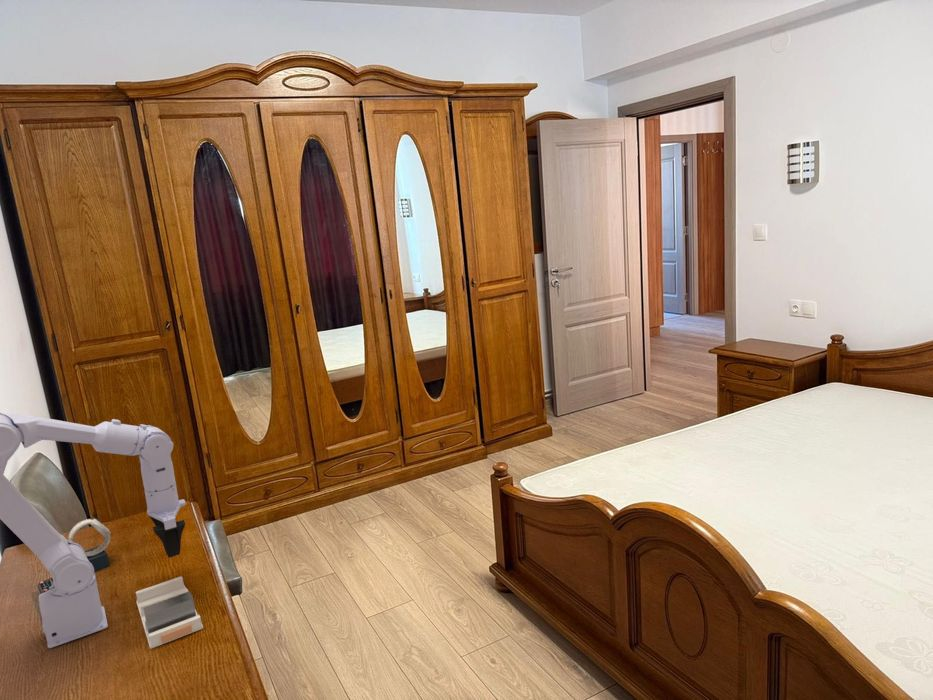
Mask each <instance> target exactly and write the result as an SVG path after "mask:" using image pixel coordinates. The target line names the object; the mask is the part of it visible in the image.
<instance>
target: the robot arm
mask: <svg viewBox="0 0 933 700" xmlns="http://www.w3.org/2000/svg"><path fill="white" fill-rule="evenodd" d="M40 441H54V442H62V443H63V442H65V443H75V444H76V443H77V444H87V445H91V446H92V448H93V449H94V450H95V451H96V452H98V453H106V454H115V455H122V456H129V457H130V456H138V457H139V463H140V473H141V478H142V484H143V490H144V494H145V502H146V507H147V509H146V514H147V516H148V517H149V519H151V521H152V522H153V523H154V526H152V530H153V533H154V534H155V535H156V536H157V537H158V538H159V540H160V542H161V543H162V545H163V549H164V551H165V553H166V556H167V557H168V558H170V559H171V558H173V557H176V556H179V555H180V554H181V545H182V544H181V543H182V535H183V532H184V529H185V527H186V522H185V520H184V519H182V520H179V521H177V520H176V517H177V515H178V513H179V511H180V509H181V507H185V506H186V504H187V503H186V500H185V499H179V494H178V489H177V488H178V487H177V483H176V482H177V481H176V475H175V470H174V469H175V468H174V464H173V461H172V457H171V455H172V452H173V449H174V442H173V441H172V439H171V436H169V435H168V434H167V433H166V432H165V431H164V430H161V429H160V428H159V427H156V426H154V425H151V424H148V425H146V424H144V423H143V424H142V423H141V424H139V425H134V424H133V425H132V424H126V423H122V422H121V420H119V419H115V418H113V419H111V421H102V422H101V423H99V424H97V425H95V426H93V425H87V424H82V423H77V422H76V423H75V422H70V421H65V420H64V421H63V420H60V419H59V420H58V419H53V418H47V417H42V416H36V415H31V414H23V413H9V415H7V414H6V413H4V412H0V520H1V521H2V522H3V524H5V525H6V526H7V527H8V528H9V529H10V531H12V533H13V534H14V535H16V537H18V538H19V539H20V541H22V542H23V544H25V546H26V547H27V548H29V550H30V551H32V552H33V554H34V555H35V556H36V557H37V558H38V559H39V561H40V562H41V563H42V565H43V566H44V568H45V570H47V571H48V573H50V576H51V578H52V582H51V585H50V587H49V589H48V590H47V591H46V590H45V591H44V592H42V593H40V594H39V595H38V605H39V611H40V616H41V620H42V623H41V625H42V631H43V634H45V638H46V643H47V648H48V649H52V648H56V647H58V646H60V645H64V644H66V643H69V642H71V641H74V640H77V639H81V638H83V637H85V636H88V635H91V634H94V633H96V632H100V631H103V630H105V629H107V628H108V627H109V624H108V620H107V616H106V610H105V606H103V605H102V603H101V599H100V598H101V597H100V592H99V589H98V588H99V587H98V584H97V578H96V573H95V572H94V567H93V565H92V564H91V563H90V562H89V560H88V558H87V557H86V555H85V551H86V550H85V549H84V547H82V546H81V545H80V544H79V543H78V542H77V543H76V542H74V543H73V542H70V541H69V540H68V539H67V538H66V537H65V536H64V535H63V534H62V533H59V532H58V531H57V530H56V529H55V527H54V526H53V525H51V523H50V522H49V521H48V520H47V519H46V518H45V517H44V516H43V515H42V514H41V513H40V512H39V511H38V509H37V508H36V507H35V506H33V504H32V503H31V502H30V501H29V500H28V499H27V497H25V496H24V495H23V494H22V492H20V491H19V490H18V488H17V487H15V485H14V484H13V483H12V482H11V481H10V480H9V479H8V478H7V477H6V475H4V474H5V471H6V468H7V465H8V461H9V460H10V459H11V458H12V457H13V456H14V455H15V454H16V452H17V450H18V449H19V447H20V445H21V444H22V445H23V447H24V449H27V448H29V447H31V446H32V445H34V444H37V443H39V442H40Z"/></svg>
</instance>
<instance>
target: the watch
mask: <svg viewBox="0 0 933 700" xmlns="http://www.w3.org/2000/svg"><path fill="white" fill-rule="evenodd" d="M87 525H90V526H91V527H93V529H95V530H96V531H97V532H98V533H99V534H100V535H102V536H103V537H104V538H103V539H104V540H103V541H102V543H101V544H100V545H98V546H95V547H92V548H90V549H87V550H84V551H85V555H86V557H87V558H88V560H89V562H90V563H91V564H92V565H93V567H94V573H97V572H99V571H101V570H104V569H106V568H109V567H110V566H111V565H110V561H109V556H108V553H107V552H106V550H105V549H106V548H107V547H108V545H109V543H110V541H111V534H112V532H111V531H110V530H109V528H108V527H106V526H105V525H104V524H103V523H101V522H100V521H99V520H98V519H97V518H93V519H91V518H88V519H87V518H86V519H83V520H82V521H79V522H76V524H75V525H74V526H73V527H71V528H72V529H70V531H69V533H68V539H67V540H68V541H70V542H73V543H75V541H74V540H73V539H74V536H75V534H76V533H77V532H78V531H79V530H80V529H81V528H83V527H85V526H87Z"/></svg>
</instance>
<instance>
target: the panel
mask: <svg viewBox="0 0 933 700" xmlns="http://www.w3.org/2000/svg"><path fill="white" fill-rule="evenodd" d="M194 600H195V599H194V597H193V595H192V593H191V591H189V590H188V592H186V593H183V594H180V595H178V596H175V597H172V598H169V599H166V600H164V601H161V602H158V603H155V604H152V605H150V606H147V607H144V608H143V609H144V615H145V620H146V626H147V631H148V635H149V634H150V633H152V632H155V631H157V630H160V629H163V628H165V627H168V626H171V625H173V624H176V623H179V622H181V621H184V620H187V619H189V618H192V617H194V616H196V613H195V610H196V608H195V607H196V606H195V601H194Z"/></svg>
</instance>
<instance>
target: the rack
mask: <svg viewBox="0 0 933 700" xmlns="http://www.w3.org/2000/svg"><path fill="white" fill-rule="evenodd" d="M186 592H189V589H188V588H187V587H186V586H185V584H184V578H183V576H182V575H180V576H178V577H174V578H171V579H169V580H166V581H163V582H160V583H158V584H155V585H152V586H149V587H146V588H142V589H140V590H137V591H135V594H136V605H137V609H138V612H139V616H140V619H141V623H142V626H143V630H144V632H145V633H144V634H145V636H146V640H147V642H148V646H149V650H152V649H154V648H157V647H159V646H161V645H165V644H167V643H169V642H172V641H175V640H177V639H180V638H183V637H184V636H188V635H189V634H192V633H194V632H195V633H196V632H199V631H200V630H202V629H204V625H203V623H202V619H201V618H202V617H201V615H200V614H198V612H197V610H196V609H195V613H196V616H194V617H192V618H189V619H187V620H184V621H181V622H179V623H176V624H173V625H171V626H168V627H165V628H163V629H160V630H157V631H155V632H152V633H150V634H149V635H148V631H147V626H146V620H145V615H144V609H143V608H144V607H147V606H150V605H152V604H155V603H158V602H161V601H164V600H166V599H169V598H172V597H175V596H178V595H180V594H183V593H186Z"/></svg>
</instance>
